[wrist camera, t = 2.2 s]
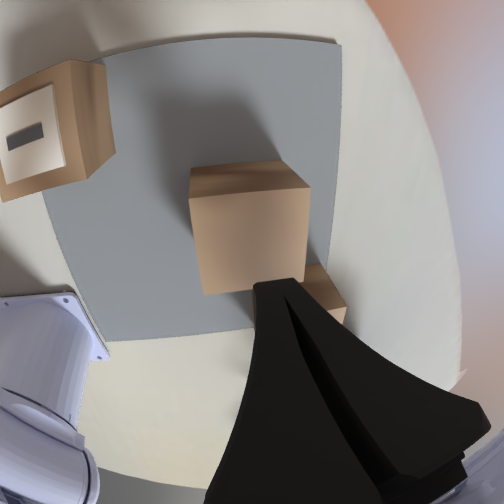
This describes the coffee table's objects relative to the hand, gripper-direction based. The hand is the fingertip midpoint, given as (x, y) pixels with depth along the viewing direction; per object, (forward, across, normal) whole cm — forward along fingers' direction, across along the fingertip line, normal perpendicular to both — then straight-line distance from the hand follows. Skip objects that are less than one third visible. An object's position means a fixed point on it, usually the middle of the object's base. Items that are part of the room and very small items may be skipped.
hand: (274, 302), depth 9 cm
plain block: (+8, 0, 0) cm, 8 cm away
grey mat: (+9, +3, 0) cm, 9 cm away
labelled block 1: (+8, +9, -6) cm, 14 cm away
